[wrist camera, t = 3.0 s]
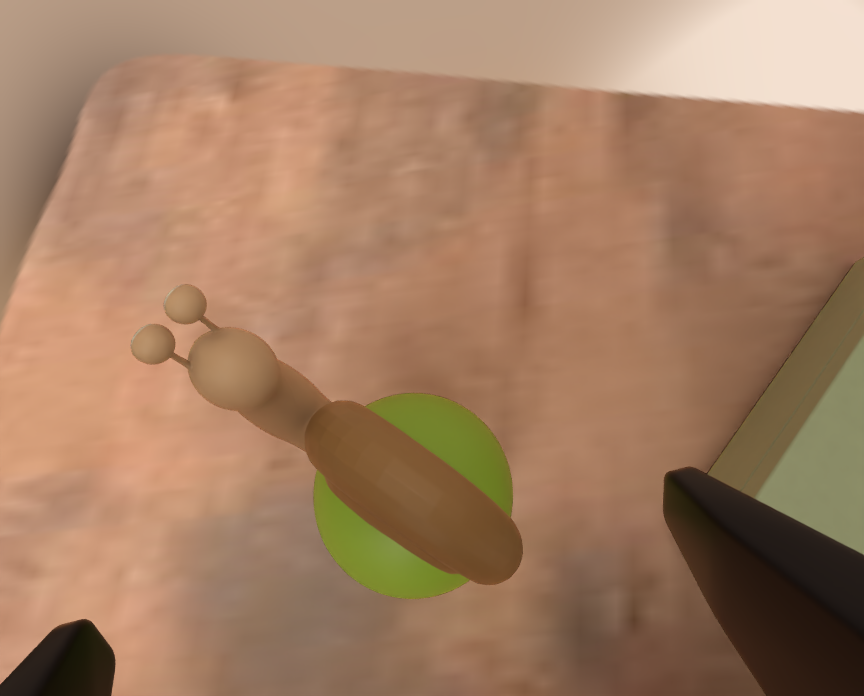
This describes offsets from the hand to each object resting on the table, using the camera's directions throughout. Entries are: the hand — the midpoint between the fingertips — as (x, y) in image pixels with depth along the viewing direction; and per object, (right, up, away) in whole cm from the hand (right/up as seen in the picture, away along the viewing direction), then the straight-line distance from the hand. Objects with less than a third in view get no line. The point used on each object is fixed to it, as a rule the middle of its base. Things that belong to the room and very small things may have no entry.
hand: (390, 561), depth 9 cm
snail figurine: (0, -1, +10) cm, 10 cm away
